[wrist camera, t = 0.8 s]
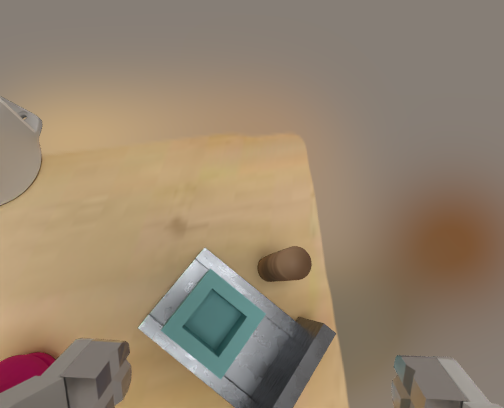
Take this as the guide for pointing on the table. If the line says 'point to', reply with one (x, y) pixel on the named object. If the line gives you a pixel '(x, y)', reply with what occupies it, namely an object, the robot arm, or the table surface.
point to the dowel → (285, 265)
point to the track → (248, 344)
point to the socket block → (213, 323)
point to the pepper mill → (23, 368)
